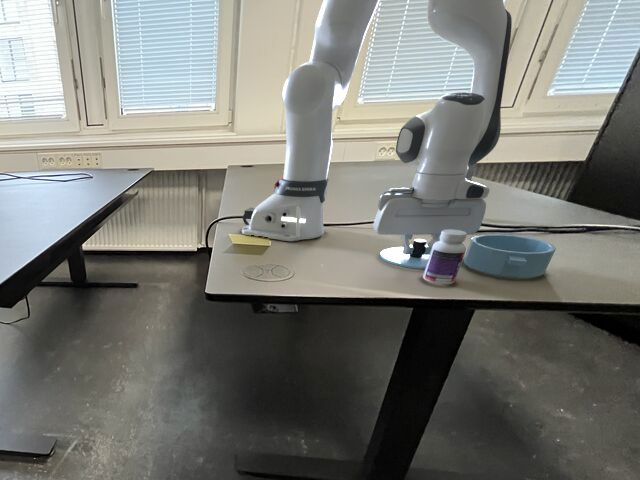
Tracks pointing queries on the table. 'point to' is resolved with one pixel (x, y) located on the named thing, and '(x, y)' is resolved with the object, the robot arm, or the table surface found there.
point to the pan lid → (407, 256)
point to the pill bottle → (446, 257)
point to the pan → (509, 255)
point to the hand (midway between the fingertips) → (416, 254)
